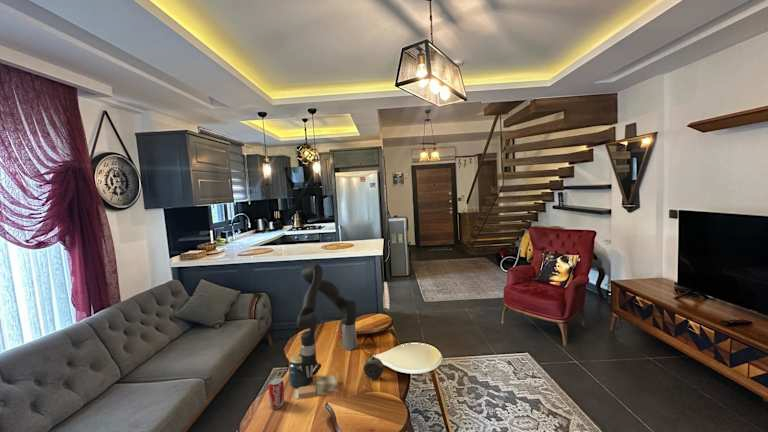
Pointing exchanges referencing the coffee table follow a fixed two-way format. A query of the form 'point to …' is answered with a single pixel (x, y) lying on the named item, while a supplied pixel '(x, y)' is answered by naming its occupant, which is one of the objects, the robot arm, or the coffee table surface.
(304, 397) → the mat
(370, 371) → the alarm clock
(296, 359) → the canister
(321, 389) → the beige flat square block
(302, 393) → the pink block
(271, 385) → the soda can
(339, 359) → the coffee table surface
